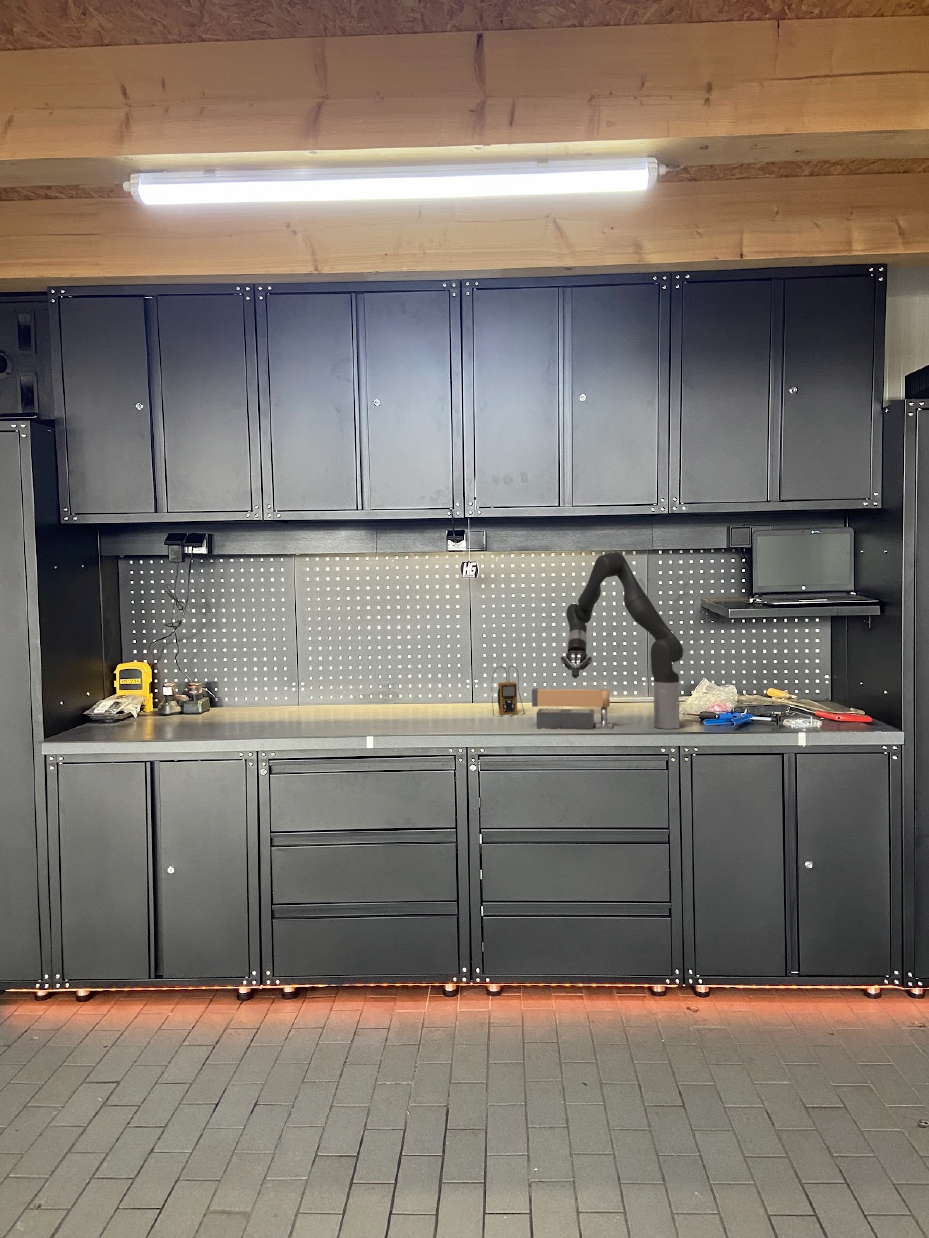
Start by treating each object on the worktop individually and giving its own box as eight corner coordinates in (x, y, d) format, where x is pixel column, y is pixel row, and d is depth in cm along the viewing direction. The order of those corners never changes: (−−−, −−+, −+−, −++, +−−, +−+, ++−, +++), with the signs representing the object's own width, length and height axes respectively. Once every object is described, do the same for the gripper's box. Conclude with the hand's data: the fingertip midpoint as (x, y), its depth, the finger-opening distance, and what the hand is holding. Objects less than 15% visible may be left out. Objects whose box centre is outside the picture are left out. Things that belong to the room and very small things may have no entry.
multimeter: (497, 718, 371) (496, 668, 370) (490, 714, 381) (489, 666, 380) (531, 716, 375) (531, 667, 374) (523, 712, 385) (523, 665, 384)
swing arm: (609, 705, 347) (609, 689, 347) (609, 707, 343) (609, 690, 343) (533, 704, 353) (533, 688, 353) (532, 706, 349) (531, 689, 348)
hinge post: (612, 726, 348) (612, 705, 348) (612, 728, 343) (612, 708, 342) (596, 725, 350) (596, 705, 349) (595, 728, 344) (595, 707, 343)
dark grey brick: (594, 724, 352) (594, 708, 351) (592, 729, 342) (592, 712, 342) (539, 723, 356) (539, 708, 355) (536, 728, 346) (536, 712, 346)
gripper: (560, 637, 372) (557, 670, 361) (593, 637, 370) (591, 670, 358) (561, 649, 378) (559, 682, 367) (594, 649, 375) (592, 682, 364)
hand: (575, 676), depth 363 cm, fingers closed
